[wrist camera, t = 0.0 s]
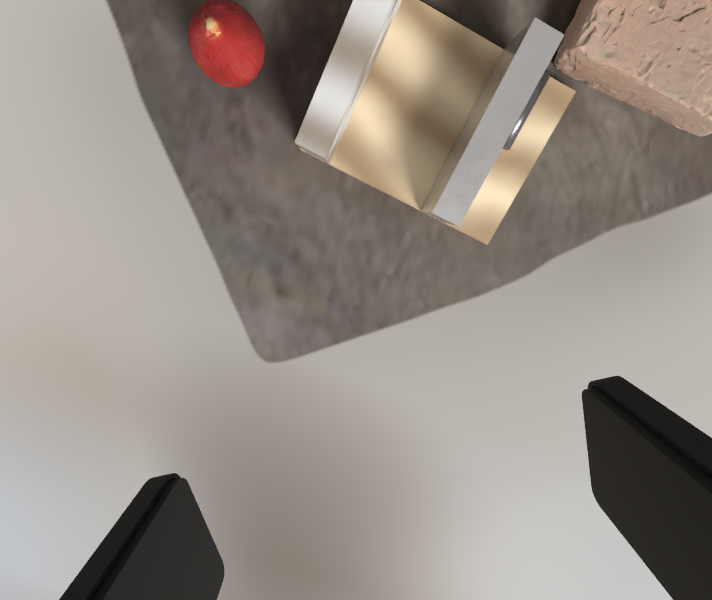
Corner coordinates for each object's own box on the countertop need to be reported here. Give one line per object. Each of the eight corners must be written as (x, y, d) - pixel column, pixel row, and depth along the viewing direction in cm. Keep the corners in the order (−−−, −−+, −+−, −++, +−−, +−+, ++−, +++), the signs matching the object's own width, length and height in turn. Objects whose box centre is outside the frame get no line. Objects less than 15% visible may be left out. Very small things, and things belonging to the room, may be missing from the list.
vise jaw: (503, 48, 32) (535, 17, 27) (542, 71, 33) (580, 44, 27) (420, 210, 36) (431, 212, 30) (455, 228, 36) (474, 234, 31)
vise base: (372, -17, 33) (377, -78, 25) (566, 95, 35) (621, 69, 28) (301, 150, 36) (288, 139, 29) (482, 243, 38) (511, 253, 31)
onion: (195, 52, 34) (148, 9, 26) (244, 9, 33) (210, -49, 25) (237, 110, 35) (203, 86, 27) (286, 70, 34) (265, 32, 27)
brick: (751, 49, 34) (812, 26, 30) (696, 141, 36) (745, 133, 32) (592, -33, 33) (630, -71, 28) (543, 68, 35) (571, 48, 30)
